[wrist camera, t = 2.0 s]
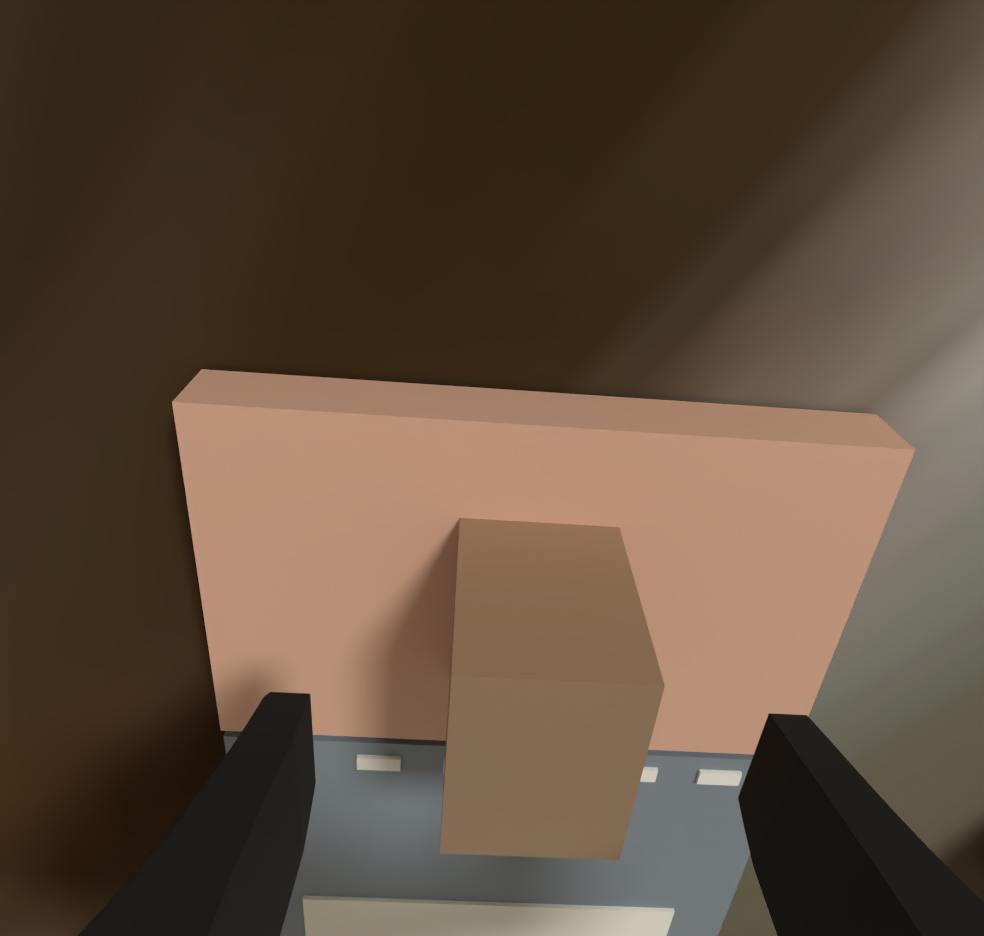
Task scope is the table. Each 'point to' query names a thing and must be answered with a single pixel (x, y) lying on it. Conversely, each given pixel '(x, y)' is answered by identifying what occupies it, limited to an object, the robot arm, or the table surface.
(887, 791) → the table surface
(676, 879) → the ticket board
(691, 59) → the table surface
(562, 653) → the pink panel with block
